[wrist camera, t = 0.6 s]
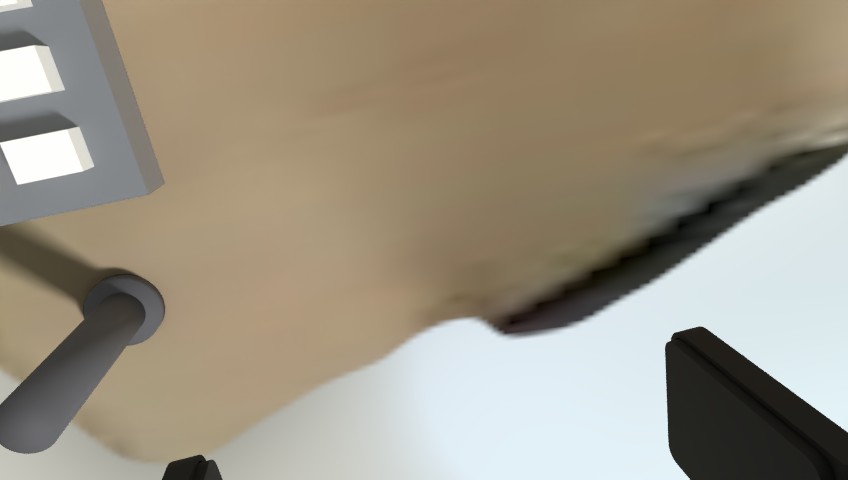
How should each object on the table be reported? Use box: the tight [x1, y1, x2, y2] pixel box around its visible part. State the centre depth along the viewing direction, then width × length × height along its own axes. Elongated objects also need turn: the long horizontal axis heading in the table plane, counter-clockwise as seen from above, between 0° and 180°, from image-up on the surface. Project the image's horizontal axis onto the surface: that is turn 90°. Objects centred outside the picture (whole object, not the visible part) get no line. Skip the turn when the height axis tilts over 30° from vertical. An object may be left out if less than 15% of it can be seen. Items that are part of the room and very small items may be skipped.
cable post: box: [0, 274, 165, 454], centre depth 33 cm, size 5×5×14 cm
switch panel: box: [0, 0, 165, 226], centre depth 32 cm, size 16×10×6 cm, turn 11°
